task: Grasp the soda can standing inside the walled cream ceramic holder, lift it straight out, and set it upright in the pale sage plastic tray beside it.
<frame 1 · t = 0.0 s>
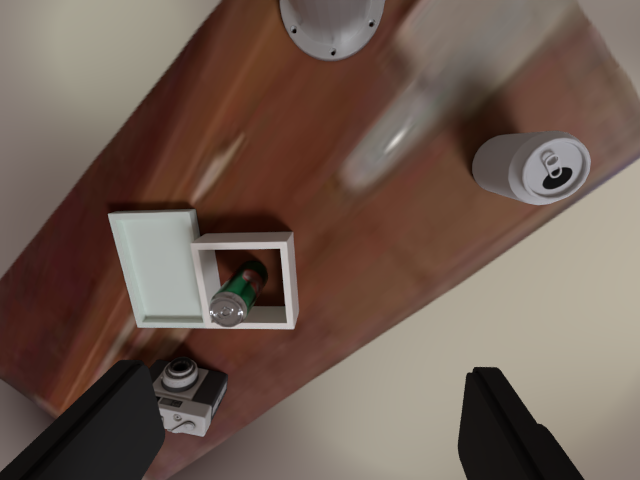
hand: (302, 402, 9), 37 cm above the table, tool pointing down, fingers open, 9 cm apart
tray: (168, 268, 50), on the table
holder: (253, 273, 49), on the table
soda can: (254, 273, 49), resting in holder
camera: (193, 366, 56), on the table
can: (497, 163, 41), on the table
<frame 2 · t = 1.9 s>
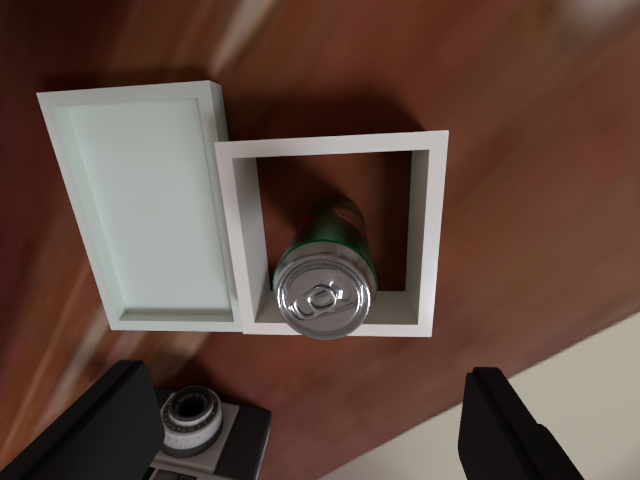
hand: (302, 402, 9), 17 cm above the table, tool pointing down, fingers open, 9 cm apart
tray: (166, 218, 26), on the table
holder: (334, 226, 25), on the table
soda can: (334, 225, 25), resting in holder
camera: (211, 398, 32), on the table
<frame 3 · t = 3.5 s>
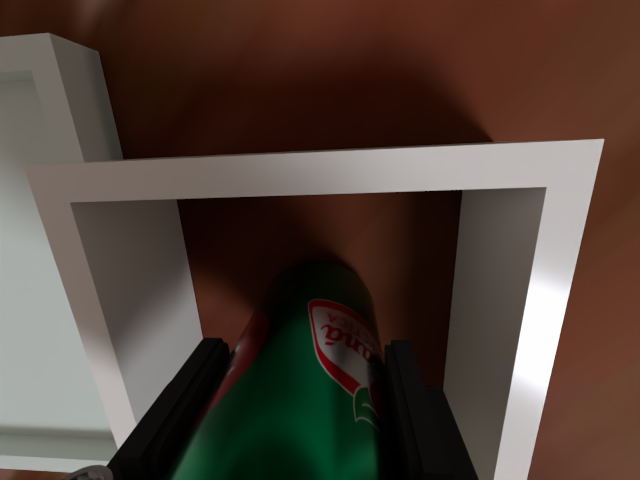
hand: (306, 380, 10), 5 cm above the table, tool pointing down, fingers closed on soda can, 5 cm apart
tray: (32, 287, 15), on the table
holder: (318, 305, 14), on the table
soda can: (319, 304, 14), resting in holder, touching gripper
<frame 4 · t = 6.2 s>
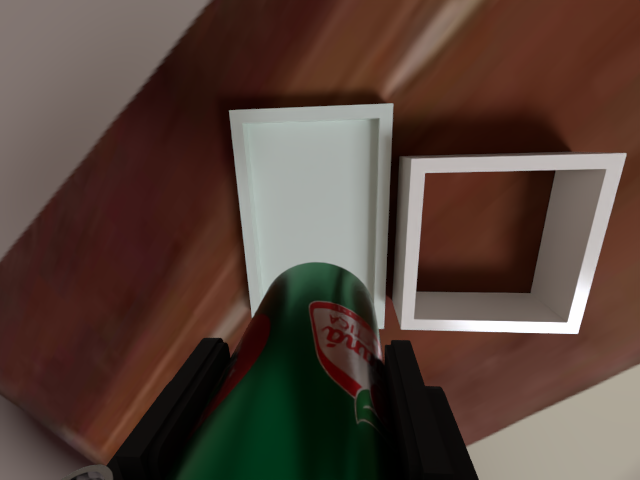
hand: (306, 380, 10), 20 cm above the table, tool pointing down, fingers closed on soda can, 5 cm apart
tray: (315, 223, 28), on the table
holder: (473, 233, 27), on the table
soda can: (319, 305, 14), point 15 cm above the table, touching gripper
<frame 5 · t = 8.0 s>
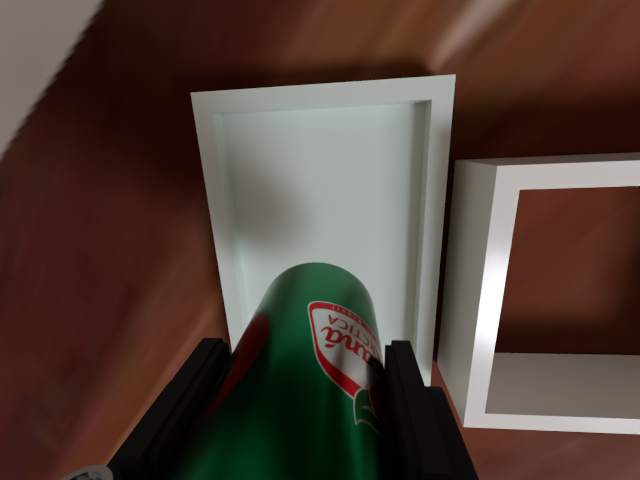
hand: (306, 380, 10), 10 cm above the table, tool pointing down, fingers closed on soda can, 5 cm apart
tray: (327, 259, 19), on the table
holder: (562, 272, 18), on the table
soda can: (319, 305, 14), point 6 cm above the table, touching gripper
when the fingers open (7 cm above the table, at t = 9.1 s): soda can drops 1 cm, resting on tray.
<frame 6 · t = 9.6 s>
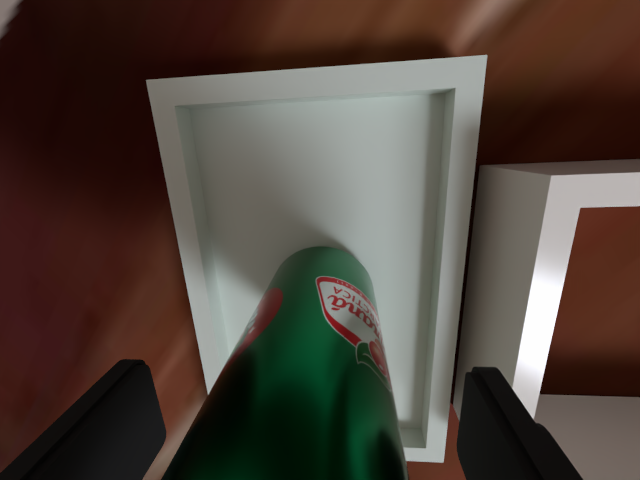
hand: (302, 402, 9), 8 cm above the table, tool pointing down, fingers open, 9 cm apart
tray: (322, 284, 16), on the table
holder: (608, 301, 15), on the table
soda can: (323, 287, 15), point 1 cm above the table, touching tray
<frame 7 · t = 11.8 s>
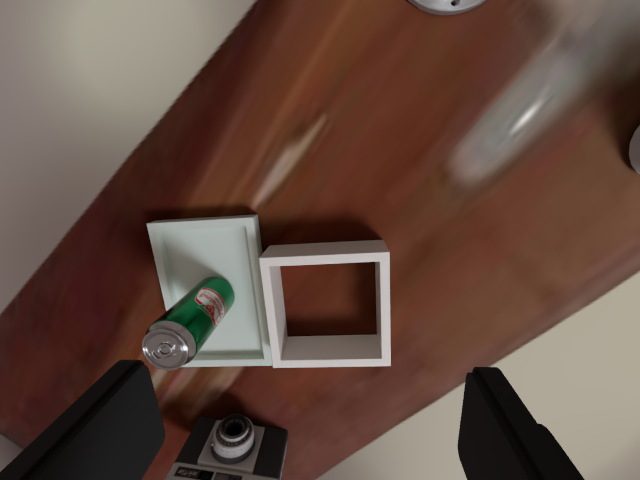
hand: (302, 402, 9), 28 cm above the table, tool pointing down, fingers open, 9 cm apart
tray: (219, 291, 39), on the table
holder: (328, 294, 38), on the table
soda can: (217, 292, 39), point 1 cm above the table, touching tray
camera: (244, 423, 45), on the table
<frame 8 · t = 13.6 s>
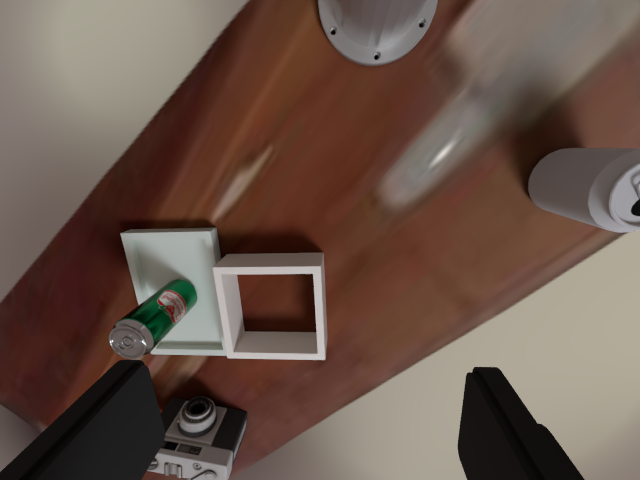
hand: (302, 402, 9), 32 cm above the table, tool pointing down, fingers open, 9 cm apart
tray: (185, 291, 45), on the table
holder: (278, 297, 44), on the table
soda can: (183, 292, 45), point 1 cm above the table, touching tray
camera: (210, 404, 52), on the table
can: (555, 179, 36), on the table
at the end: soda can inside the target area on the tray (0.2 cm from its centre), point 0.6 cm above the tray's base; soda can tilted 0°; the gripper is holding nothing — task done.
